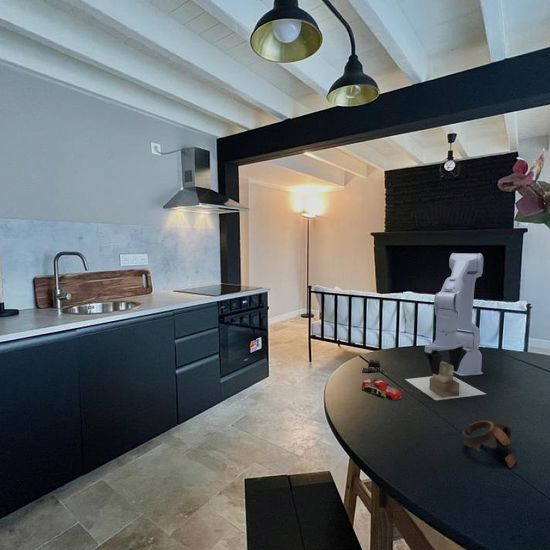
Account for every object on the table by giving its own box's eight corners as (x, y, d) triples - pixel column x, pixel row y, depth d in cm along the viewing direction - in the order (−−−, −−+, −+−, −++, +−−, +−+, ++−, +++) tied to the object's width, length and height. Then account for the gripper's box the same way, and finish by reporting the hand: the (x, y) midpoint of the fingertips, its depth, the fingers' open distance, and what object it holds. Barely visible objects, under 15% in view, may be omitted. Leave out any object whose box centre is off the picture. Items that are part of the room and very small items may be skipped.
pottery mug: (508, 478, 69) (486, 440, 71) (469, 472, 77) (449, 437, 79) (533, 445, 75) (512, 410, 77) (494, 442, 83) (475, 411, 85)
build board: (449, 375, 120) (449, 374, 120) (486, 395, 105) (486, 393, 105) (404, 380, 117) (404, 379, 117) (435, 401, 101) (435, 399, 101)
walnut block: (445, 387, 110) (445, 375, 109) (459, 395, 104) (459, 383, 103) (429, 389, 108) (429, 377, 108) (442, 397, 103) (442, 385, 102)
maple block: (442, 376, 109) (443, 361, 108) (452, 381, 105) (453, 365, 105) (433, 378, 108) (433, 363, 107) (442, 382, 104) (443, 367, 103)
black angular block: (391, 371, 127) (391, 359, 126) (391, 378, 120) (392, 366, 119) (358, 367, 131) (358, 356, 130) (356, 374, 124) (356, 362, 123)
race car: (405, 399, 104) (405, 386, 103) (395, 404, 100) (396, 392, 100) (369, 385, 114) (369, 374, 113) (359, 390, 110) (359, 378, 110)
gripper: (453, 325, 110) (452, 364, 112) (418, 329, 106) (416, 370, 107) (472, 330, 104) (470, 372, 105) (435, 334, 99) (433, 379, 100)
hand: (444, 372), depth 105 cm, fingers open, 7 cm apart
